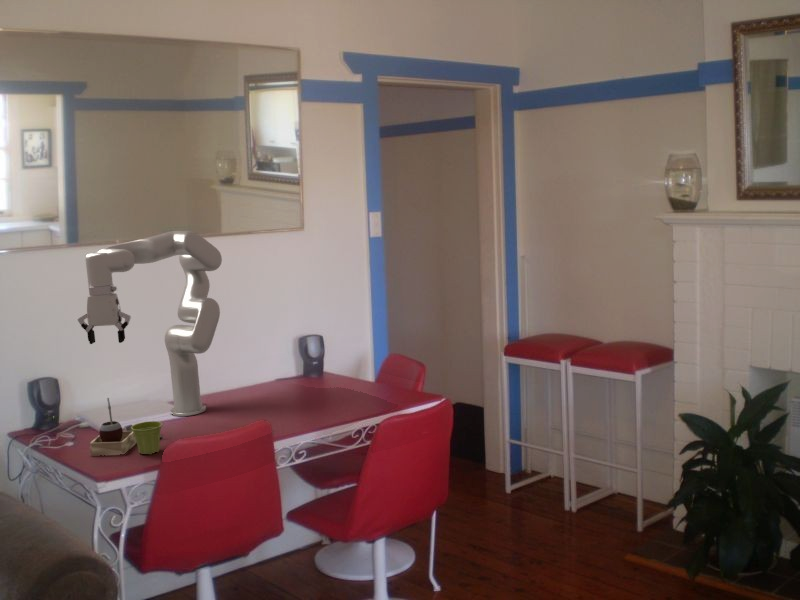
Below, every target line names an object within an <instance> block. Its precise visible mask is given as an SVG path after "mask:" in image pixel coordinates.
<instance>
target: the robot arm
mask: <svg viewBox="0 0 800 600" xmlns="http://www.w3.org/2000/svg"><path fill="white" fill-rule="evenodd" d="M174 256H175V257H176V256H178V259H179V263H180V265H181V268H182V270H183V272H184V275H185V280H186V281H185V286H184V290H183V293H182V296H181V298H180V301H179V305H178V308H177V317H178V319H179V320H180V321H182V322H184V323H188V324H194V325H188V324H187V325H186V324H185V325H184V324H175V325H173V326H170V327H169V328H168V329H167V330H166V332H165V334H164V343H165V347H166V351H167V354H168V360H169V367H170V375H171V376H170V379H171V386H172V387H171V389H172V397H173V407H171V409H170V410H169V412H170V411H171V412H172V413H173V415H172V416H175V417H188V416H189V417H190V416H194V415H198V414H201V413H204V412H205V411H206V410H207V406H206V405H205V404H203V403H202V399H201V397H202V396H201V388H200V376H199V367H198V366H199V365H198V360H197V357H196V355H198V354H199V355H200V354H204V353H206V352H207V351H208V350H209V349H210V347H211V345H212V342H213V339H214V336H215V332H216V331H217V327H218V324H219V319H220V314H221V309H220V305H219V304H218V302H217V300H215V299H214V298H211V297H208V295H209V292H210V285H211V284H210V279H209V276H208V273H206V272H213V271H217V270H218V269H219V268H220V267H221V265H222V262H223V260H222V259H223V257H222V255H221V252H220V251H219V249H218V248H217V247H215V245H213V244H212V243H210V242H209V240H206V239H205V238H204V237H203V236H201V235H200V234H198V233H197V232H195V231H192V230H172V231H171V230H170V231H166V232H163V233H160V234H156V235H153V236H149V237H145V238H142V239H135V240H131V241H128V242H122V243H117V244H114V245H110V246H107V247H104V248H101V249H100V250H98V251H97V252H89V253H87V254H86V256H85V266H86V275H87V276H86V277H87V283H88V284H87V285H88V293H89V294H88V296H87V300H86V313H85V314H84V315H81V317H79V318H78V319H77V322H78V323H79V324H80V327H81V328H82V329H84V331H85V332H86V333H87V340H88V342H89V345H93V344H94V343H96V336H95V330H94V328H95V327H105V326H107V327H108V326H114V327H116V328H117V329H118V330H117V338H118V339H117V340H118V343H119V344H121V343H123V342H124V341H125V339H126V334H125V329H126V328H127V327H128V325H129V324H130V321H131V319H132V316H131V315H130V314H127V313H125V312H124V311H122V309H121V305H120V300H119V297H118V294H117V293H115V292H116V291H118V289H119V288H118V286H115V285H114V283H113V281H114V280H113V273H126V272H129V271H131V270H132V269H133V268H134V266H135V265H137V264H138V265H139V264H143V265H144V264H151V263H156V262H159V261H161V260H165V259H169V258H172V257H174ZM123 318H124V322H123ZM86 319H87V323H86V322H85V320H86Z"/></svg>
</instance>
